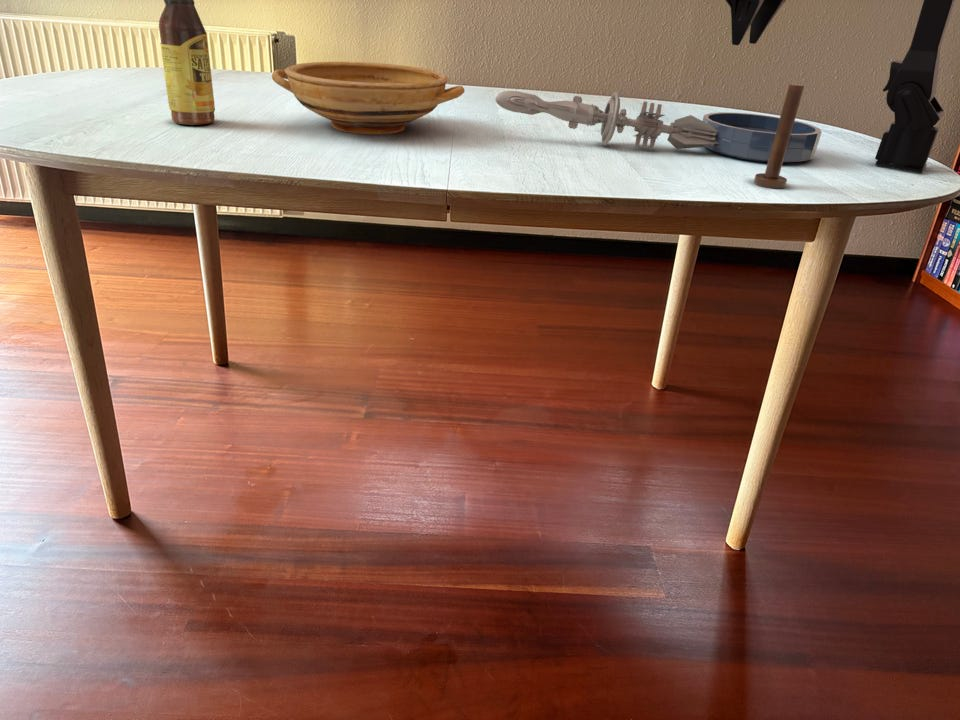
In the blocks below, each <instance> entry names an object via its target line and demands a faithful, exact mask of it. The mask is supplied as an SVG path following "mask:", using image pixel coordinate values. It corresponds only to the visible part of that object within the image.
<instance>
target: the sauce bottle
mask: <svg viewBox="0 0 960 720" xmlns="http://www.w3.org/2000/svg"><path fill="white" fill-rule="evenodd" d="M163 2H164V4H165V5H164V8H163V10H162V12H161V14H160V17H159V21H158V30H159V37H160V50H161V51H160V52H161V59H162V60H161V61H162V66H163V73H164V74H163V75H164V81H165V88H166V95H167V103H168V108H169V110H170V115H171V120H172V122H174V123H175V124H179V125H187V126H197V125H199V126H201V125H208V124H212V123H214V121H215V112H216V106H215V97H214V96H215V95H214V88H213V79H212V69H211V60H210V59H211V58H210V50H209V42H208V33H207V31H206V28H205V26H204V25H203V22H202V20H201V18H200V16H199V15H200V14H199V13H198V10H197V8H196V6H195V0H163Z"/></svg>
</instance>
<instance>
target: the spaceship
mask: <svg viewBox="0 0 960 720" xmlns="http://www.w3.org/2000/svg"><path fill="white" fill-rule="evenodd" d="M494 99H495V102H496V104H497V105H498V106H499V107H501V108H503V109H505V110H507V111H510V112H513V113H518V114H519V113H520V114H525V115H528V116H529V115H530V116H533V115H538V114H543V113H544V114H548V115H550V116H553V117H554V118H556V119H558V120H561V121H564V122H568V126H567V127H568V129H573V130H575V129H578V125H579V124H580V125H585V126H587V127H589V126H590V127H593V126H595V125H598V124H601V125H600V136H601V145H602V146H605V147H606V146H608V144H609V143H610V141H612V139H613V136H614V134H615V131H617V133H618V134H622V133H623V131H624V129H625V127H626V126H627V127H632V128H633V130H634V132H637V134H635V135H633V137H635V142H634V147H635V148H639V147H640V144H641V141H642V146H641V147H642V148H641V149H644V150H646V149H647V145H648V143H649V148H648V149H649V151H653V150H654V147H655V145H656V140H658V139H659V138H658V137H660V136H661V134H667V135H668V137H667V141H668V143H669V144H671V146H673V147H674V148H675V149H676V150H684V149H698V148H706V146H714V144H720V143H718V142H717V141H716V140H715V138H716V137H715V136H716V134H717V132H718V130H717V129H715V128H714V127H713V126H711V125H709V124H707V123H705V122H703V119H700V118H698V117H696V116H694V115H692V114H690V115H686V116H683V117H680V118H676V119H674V121H673V122H670V125H668V124H664V121H663V120H661V119H660V118H662V117H664V116H665V114H661V113H662V106H663V105H662V104H661V103H658V104H657V106H656V111H655V102H651V103H650V104H649V109H648V111H647V107H648V101H643V102H642V107H641V110H640V112H639V114H638V116H636V119H633V118H630V117H629V118H628V117H627V109H625V108H622V109H621V98H620V93H619V92H618V91H617V90H616V91H613V93H612V94H611V96H610V99H608V100H607V103H606V106H605V108H604V111H603V110H601V109H600V107H599V106H598V105H595V104H592V103H591V104H588V103H583V98H582V96H579V95H574V96H573V97H572V100H556V101H555V100H554V101H547V100H543V99H542V98H540V97H539V96H538V95H536V94H532V93H528V92H523V91H518V90H508V91H502V92H499V93H497V94H496V95H495V98H494ZM620 109H621V110H620ZM649 140H650V142H649Z"/></svg>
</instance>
